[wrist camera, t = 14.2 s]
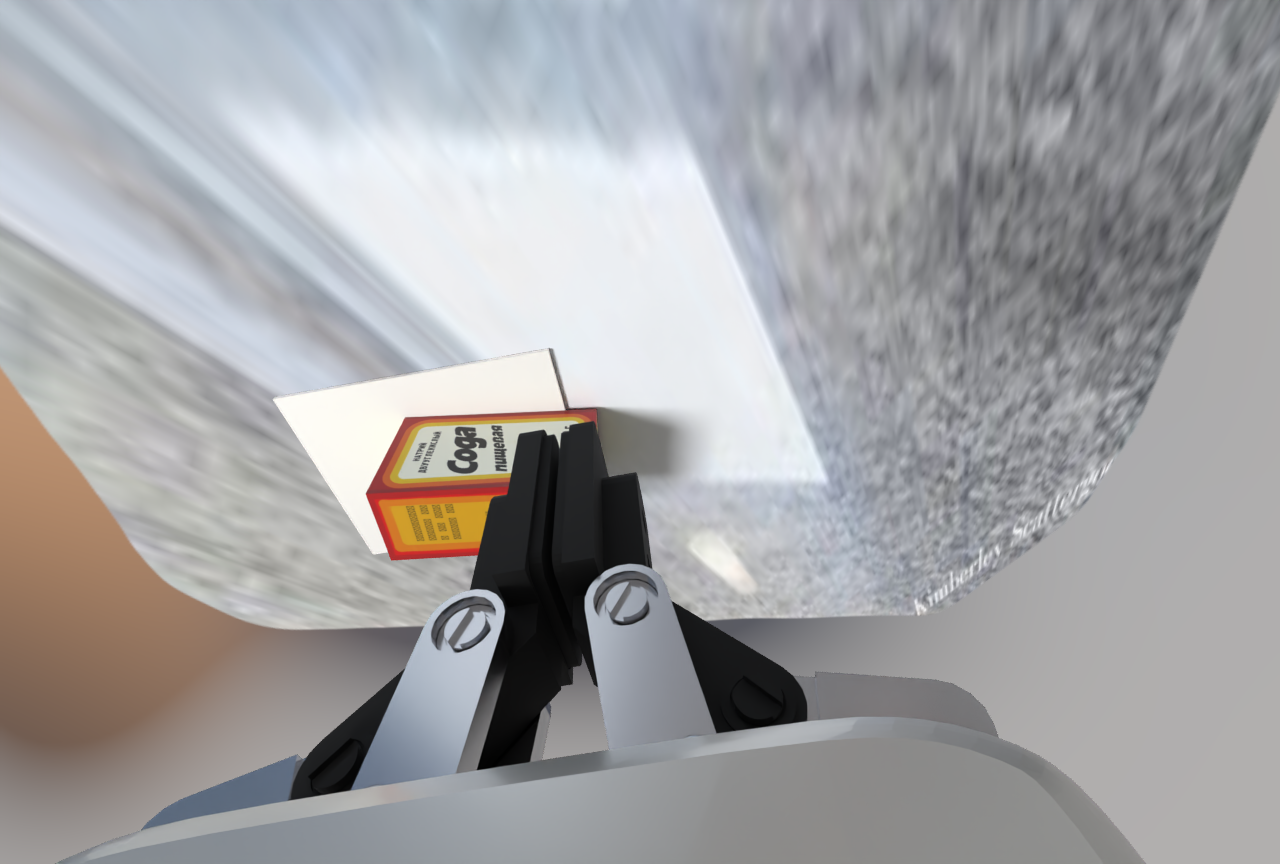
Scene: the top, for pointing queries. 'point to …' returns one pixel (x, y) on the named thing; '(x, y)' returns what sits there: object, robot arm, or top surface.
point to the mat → (374, 410)
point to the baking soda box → (451, 478)
